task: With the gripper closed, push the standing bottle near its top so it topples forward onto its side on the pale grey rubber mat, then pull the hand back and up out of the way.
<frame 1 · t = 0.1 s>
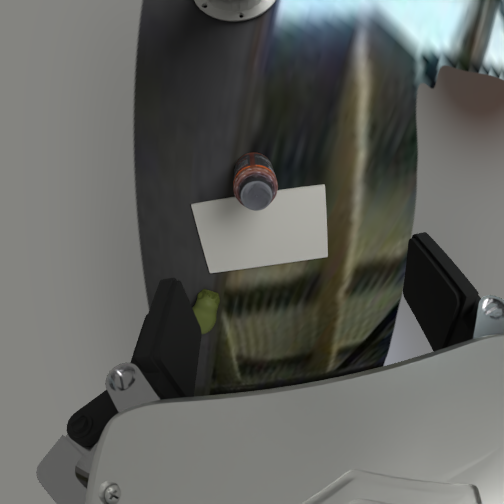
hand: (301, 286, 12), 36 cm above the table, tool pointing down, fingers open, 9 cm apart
pear: (205, 303, 61), on the table
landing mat: (263, 230, 52), on the table
supplement bottle: (253, 169, 46), on the table
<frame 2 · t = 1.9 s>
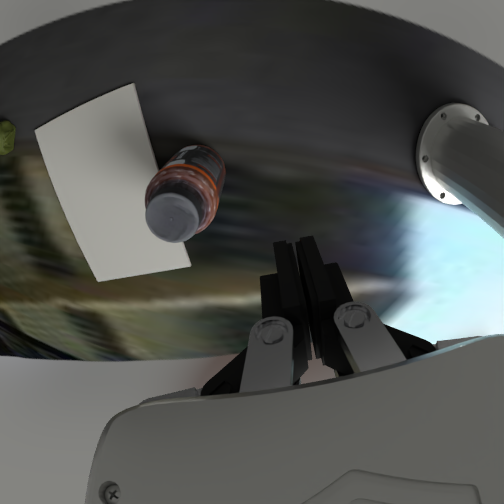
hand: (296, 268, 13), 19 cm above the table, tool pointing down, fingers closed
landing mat: (108, 195, 31), on the table
supplement bottle: (197, 170, 30), on the table
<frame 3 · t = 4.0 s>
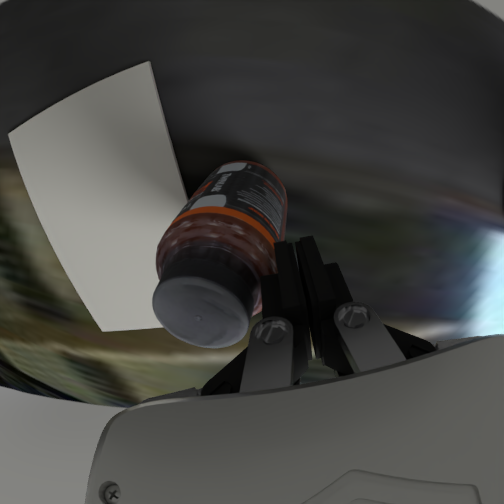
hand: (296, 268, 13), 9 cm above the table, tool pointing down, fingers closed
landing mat: (111, 226, 22), on the table
supplement bottle: (245, 197, 21), on the table, touching gripper
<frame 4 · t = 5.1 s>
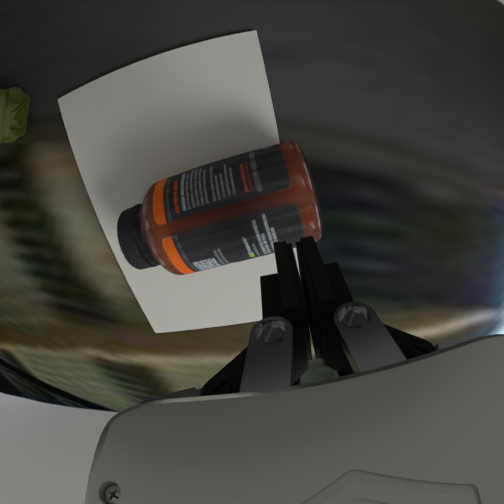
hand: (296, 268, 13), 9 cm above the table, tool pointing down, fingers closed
pear: (0, 110, 15), on the table
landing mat: (188, 211, 21), on the table
supplement bottle: (314, 188, 16), point 3 cm above the table, touching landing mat
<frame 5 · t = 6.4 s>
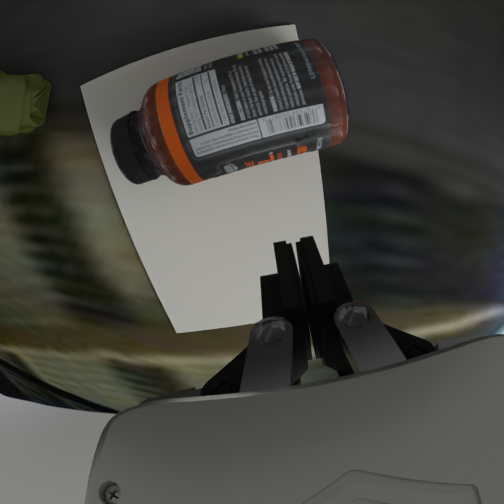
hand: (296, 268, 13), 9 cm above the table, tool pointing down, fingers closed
pear: (15, 99, 15), on the table
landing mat: (219, 205, 20), on the table
supplement bottle: (335, 89, 13), point 3 cm above the table, touching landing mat
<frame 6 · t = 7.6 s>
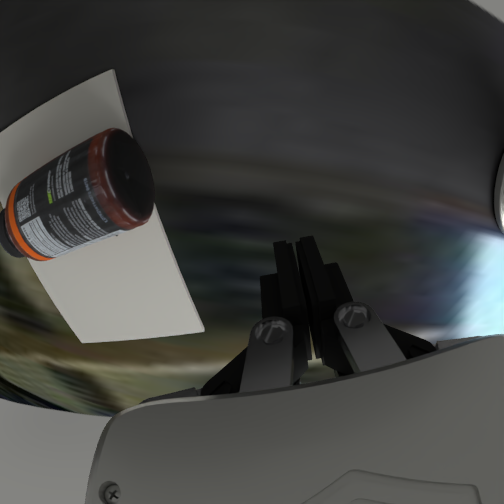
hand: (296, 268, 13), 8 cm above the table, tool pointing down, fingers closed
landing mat: (83, 239, 21), on the table
supplement bottle: (138, 171, 15), point 3 cm above the table, touching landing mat
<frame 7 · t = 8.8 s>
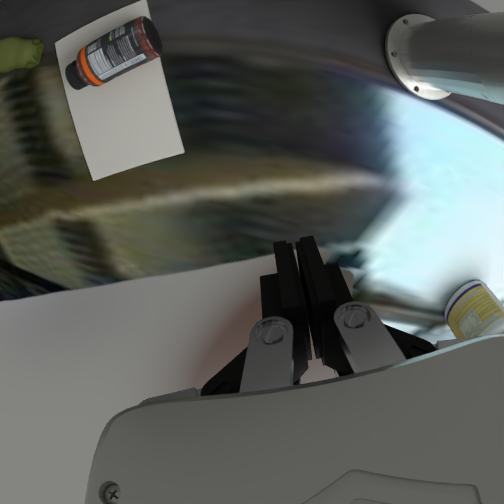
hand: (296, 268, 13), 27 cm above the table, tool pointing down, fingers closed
pear: (25, 53, 26), on the table
supplement tub: (464, 300, 52), on the table
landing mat: (113, 90, 31), on the table
supplement bottle: (155, 34, 25), point 3 cm above the table, touching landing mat
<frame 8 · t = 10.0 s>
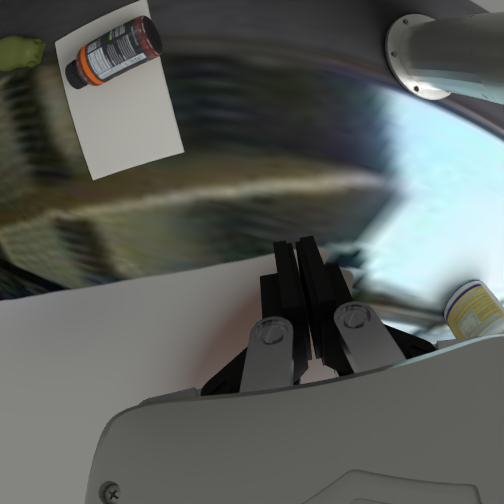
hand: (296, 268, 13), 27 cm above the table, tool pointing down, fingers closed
pear: (26, 52, 26), on the table
supplement tub: (463, 300, 52), on the table
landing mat: (113, 89, 31), on the table
supplement bottle: (155, 33, 25), point 3 cm above the table, touching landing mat
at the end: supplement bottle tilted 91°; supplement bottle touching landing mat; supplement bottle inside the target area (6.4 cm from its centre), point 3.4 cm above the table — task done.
